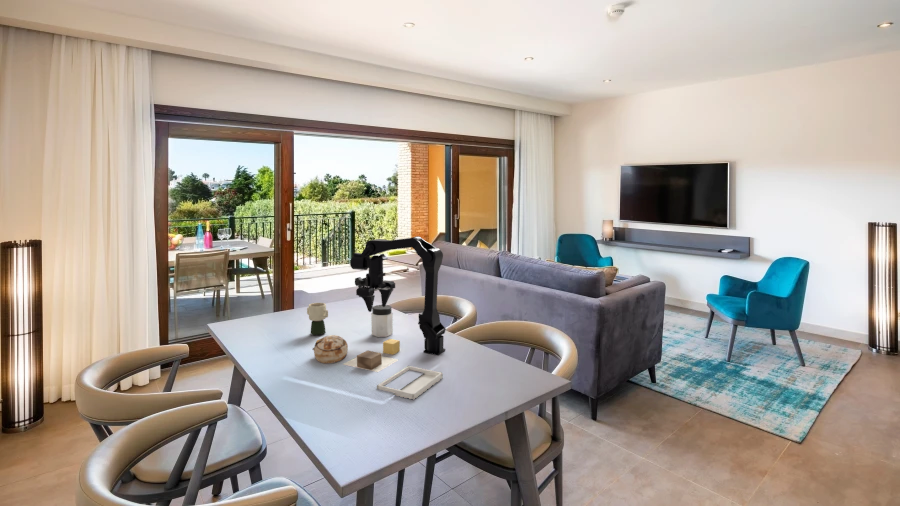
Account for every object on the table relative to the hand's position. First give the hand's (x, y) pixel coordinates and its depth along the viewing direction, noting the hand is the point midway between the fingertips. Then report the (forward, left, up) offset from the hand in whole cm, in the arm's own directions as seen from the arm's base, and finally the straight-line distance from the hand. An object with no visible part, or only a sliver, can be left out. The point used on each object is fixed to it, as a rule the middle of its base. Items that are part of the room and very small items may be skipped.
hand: (376, 309), depth 185 cm
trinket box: (+4, +23, -14) cm, 27 cm away
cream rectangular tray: (-34, +29, -14) cm, 46 cm away
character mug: (+28, +4, -14) cm, 32 cm away
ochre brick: (-13, +9, -14) cm, 21 cm away
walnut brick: (-14, +24, -13) cm, 30 cm away
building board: (-12, +21, -14) cm, 28 cm away
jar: (+4, -9, -14) cm, 18 cm away
